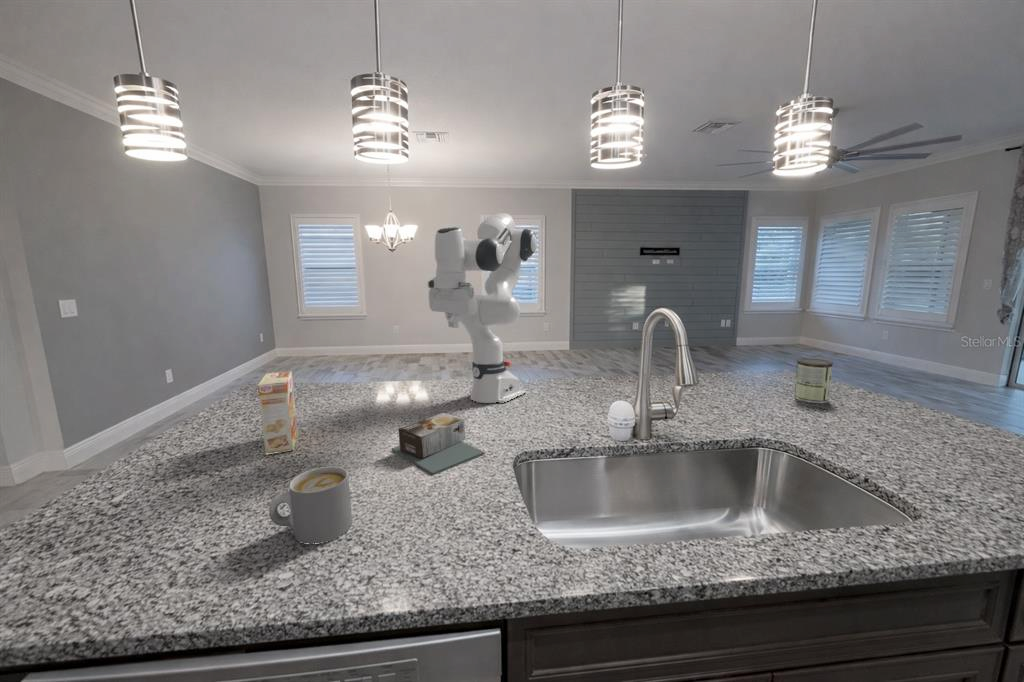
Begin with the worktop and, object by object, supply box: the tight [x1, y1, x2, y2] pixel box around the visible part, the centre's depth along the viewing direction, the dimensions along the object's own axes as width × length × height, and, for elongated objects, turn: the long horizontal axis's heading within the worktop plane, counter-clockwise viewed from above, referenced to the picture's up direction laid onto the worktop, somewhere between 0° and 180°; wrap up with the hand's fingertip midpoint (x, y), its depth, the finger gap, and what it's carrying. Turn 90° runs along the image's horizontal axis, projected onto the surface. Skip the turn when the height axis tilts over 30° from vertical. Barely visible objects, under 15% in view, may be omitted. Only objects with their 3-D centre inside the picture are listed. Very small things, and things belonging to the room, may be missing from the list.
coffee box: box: [398, 412, 466, 459], centre depth 113 cm, size 9×6×16 cm
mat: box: [391, 441, 485, 476], centre depth 111 cm, size 16×20×1 cm
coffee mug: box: [268, 466, 353, 544], centre depth 77 cm, size 13×10×10 cm
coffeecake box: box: [257, 370, 298, 454], centre depth 117 cm, size 15×7×20 cm, turn 23°
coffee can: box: [793, 357, 834, 404], centre depth 149 cm, size 10×10×14 cm
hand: (453, 327), depth 128 cm, fingers closed
